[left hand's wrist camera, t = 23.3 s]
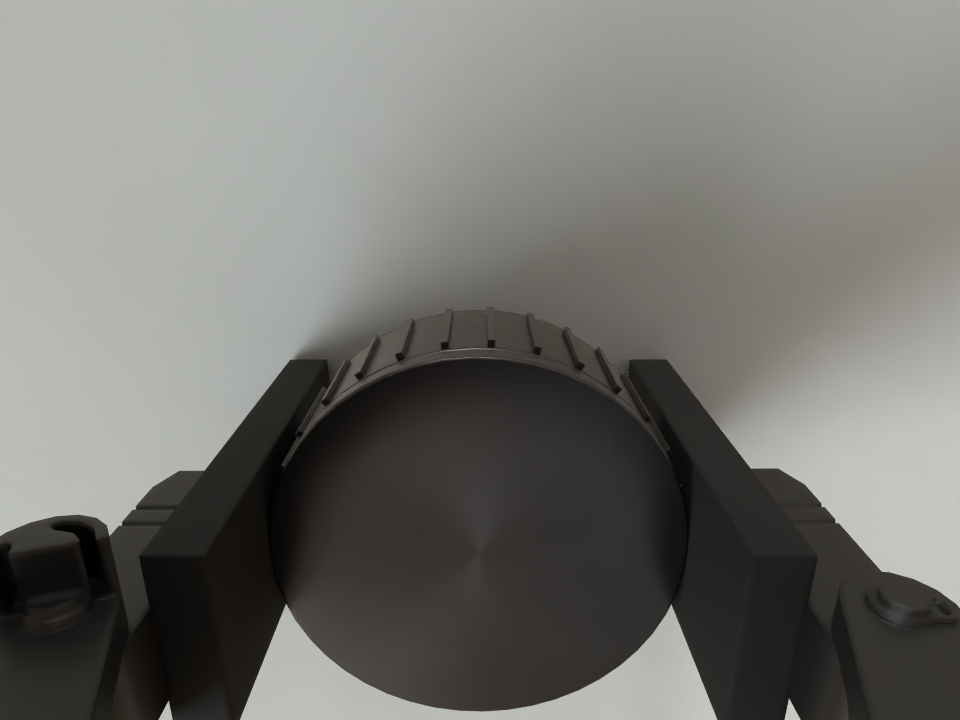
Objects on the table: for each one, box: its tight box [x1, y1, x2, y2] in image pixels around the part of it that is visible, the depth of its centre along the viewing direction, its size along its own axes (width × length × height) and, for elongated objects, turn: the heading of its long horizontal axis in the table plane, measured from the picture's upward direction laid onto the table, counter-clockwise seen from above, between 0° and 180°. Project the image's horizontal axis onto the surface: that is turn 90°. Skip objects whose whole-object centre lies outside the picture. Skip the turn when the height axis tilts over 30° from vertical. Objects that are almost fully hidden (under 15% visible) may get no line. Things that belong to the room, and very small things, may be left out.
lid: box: [269, 307, 688, 711], centre depth 11 cm, size 6×6×2 cm
